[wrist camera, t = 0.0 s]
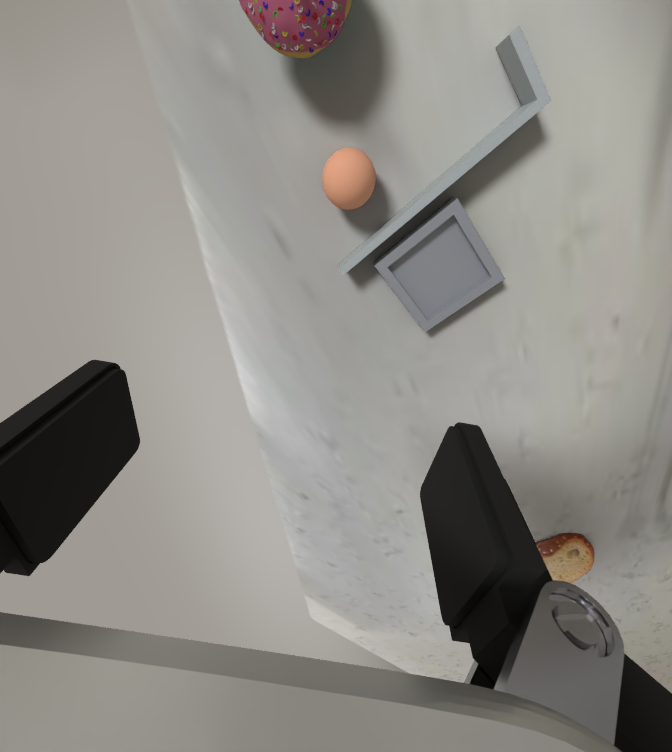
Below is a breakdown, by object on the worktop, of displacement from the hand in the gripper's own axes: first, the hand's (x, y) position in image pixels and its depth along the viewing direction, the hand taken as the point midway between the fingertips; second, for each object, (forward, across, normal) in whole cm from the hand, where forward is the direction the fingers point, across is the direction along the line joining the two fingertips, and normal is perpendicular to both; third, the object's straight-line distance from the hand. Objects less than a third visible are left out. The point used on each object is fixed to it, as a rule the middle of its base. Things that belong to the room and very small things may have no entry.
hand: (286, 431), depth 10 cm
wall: (+31, -6, -8) cm, 33 cm away
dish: (+31, -11, +1) cm, 33 cm away
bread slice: (+32, -51, +53) cm, 80 cm away
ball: (+31, 0, -6) cm, 32 cm away
